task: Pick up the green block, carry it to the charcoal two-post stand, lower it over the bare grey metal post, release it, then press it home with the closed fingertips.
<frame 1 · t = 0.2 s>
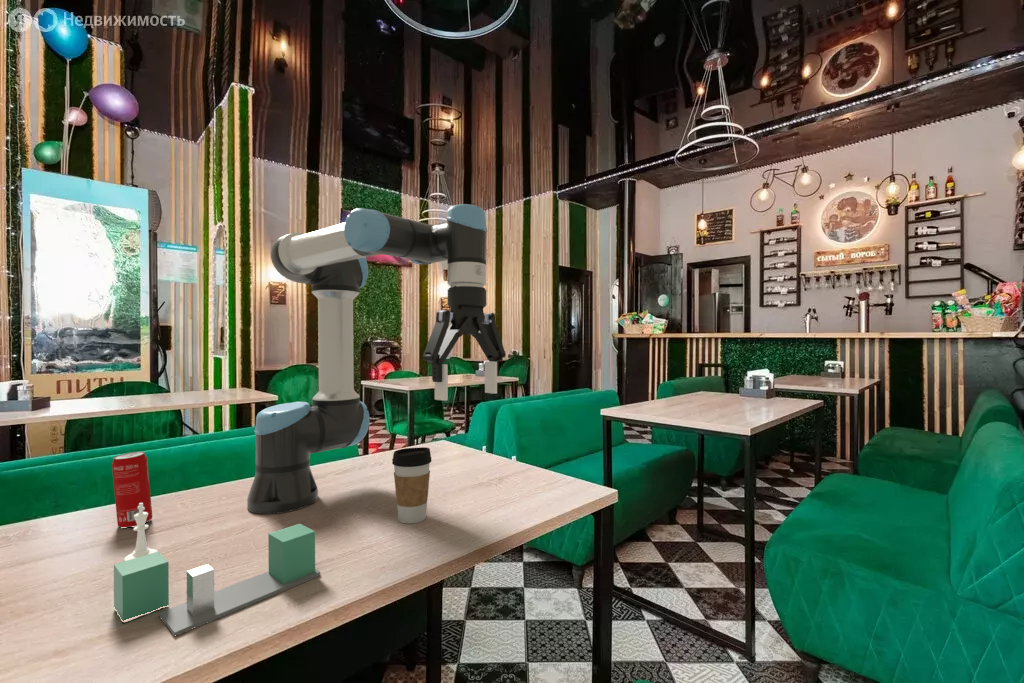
hand: (467, 396, 89), 28 cm above the table, fingers open, 13 cm apart
stand: (246, 594, 70), on the table
chess piece: (141, 560, 81), on the table
beverage can: (132, 525, 97), on the table
coffee cup: (412, 519, 100), on the table
green block: (141, 608, 66), on the table
post: (200, 612, 65), resting on stand
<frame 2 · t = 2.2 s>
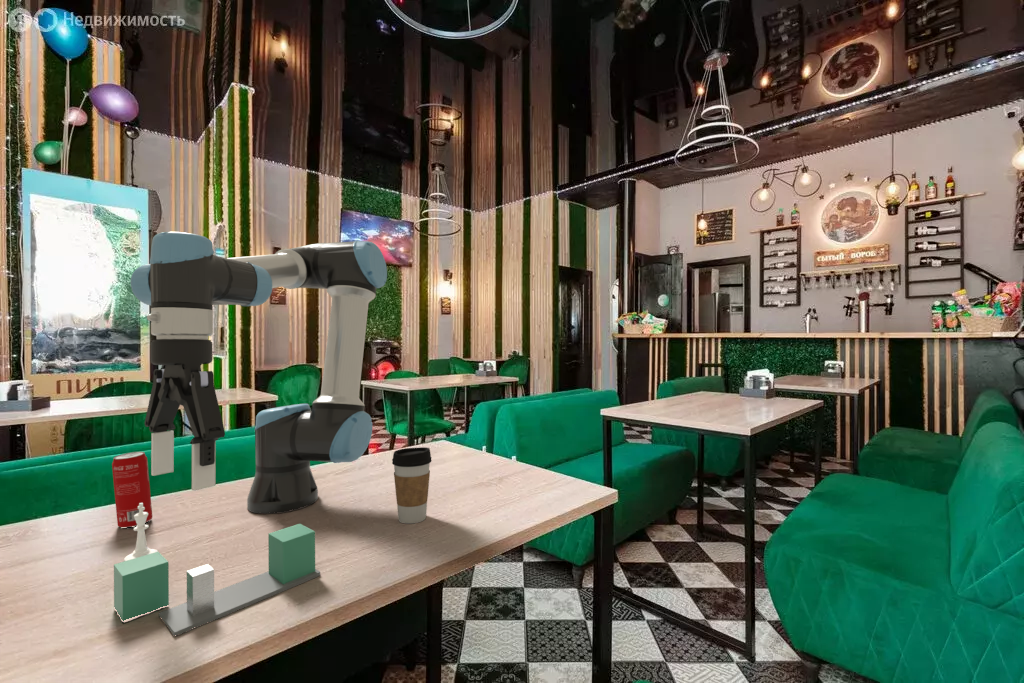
hand: (182, 480, 68), 18 cm above the table, fingers open, 13 cm apart
nothing on the table moved.
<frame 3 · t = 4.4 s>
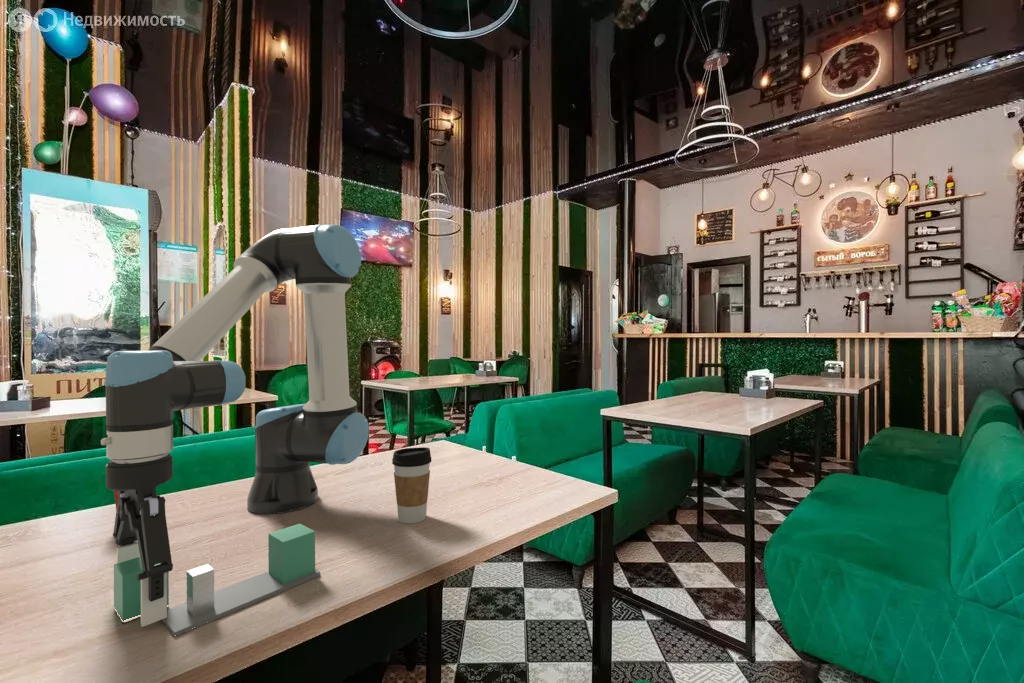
hand: (140, 603, 66), 1 cm above the table, fingers open, 13 cm apart
nothing on the table moved.
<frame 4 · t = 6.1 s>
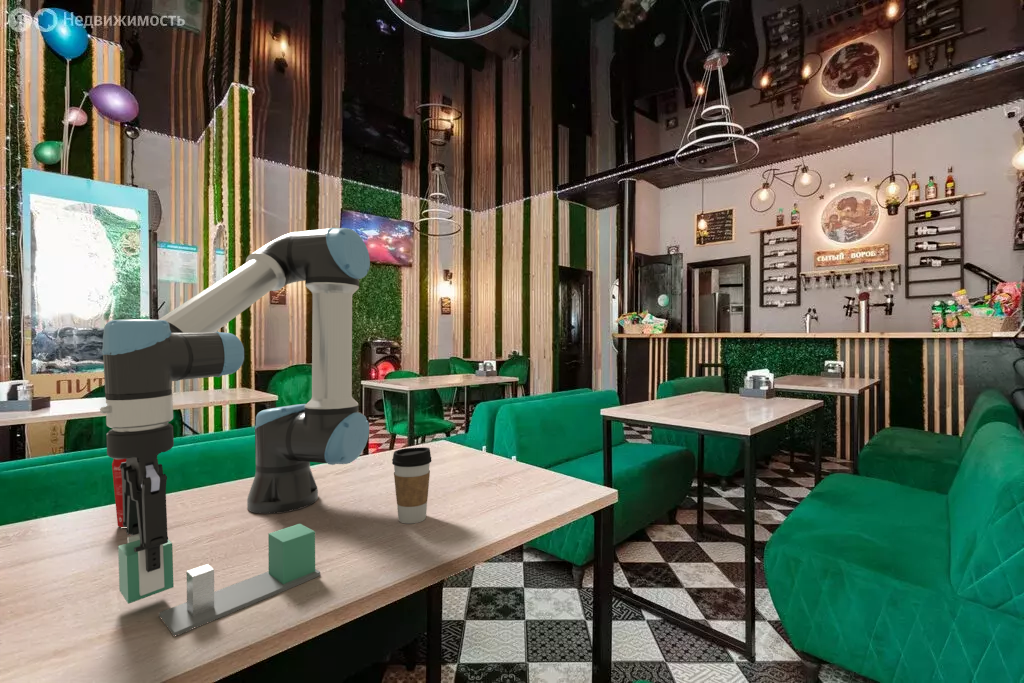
hand: (146, 583, 67), 3 cm above the table, fingers closed on green block, 5 cm apart
green block: (146, 588, 67), point 2 cm above the table, touching gripper
everything else where it was.
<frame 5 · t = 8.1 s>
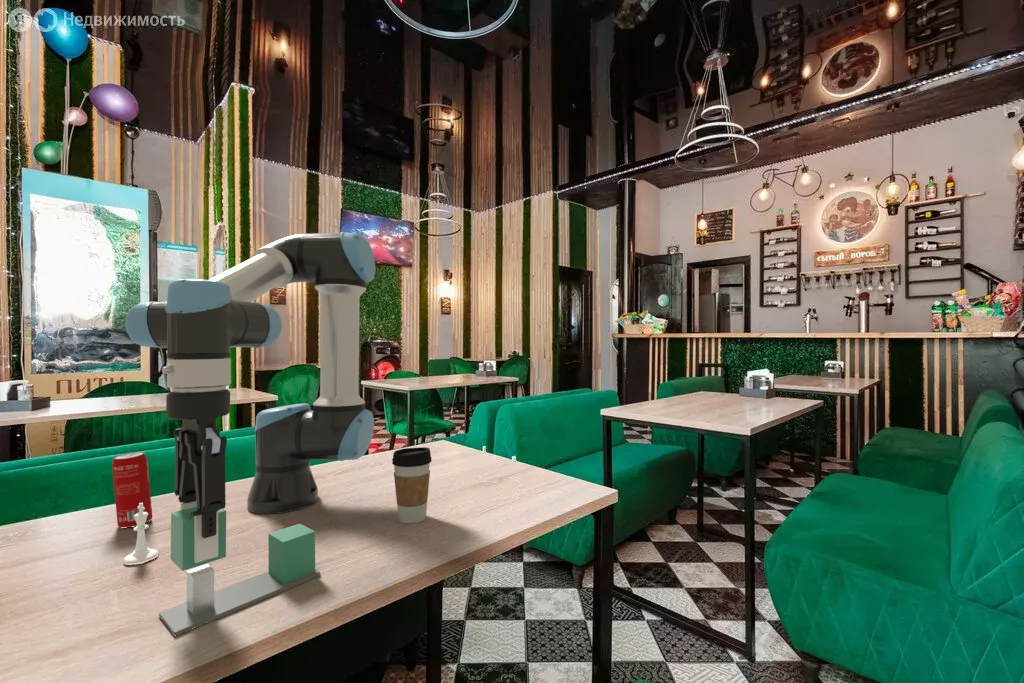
hand: (198, 552, 65), 9 cm above the table, fingers closed on green block, 5 cm apart
green block: (198, 558, 65), point 8 cm above the table, touching gripper
everything else where it was.
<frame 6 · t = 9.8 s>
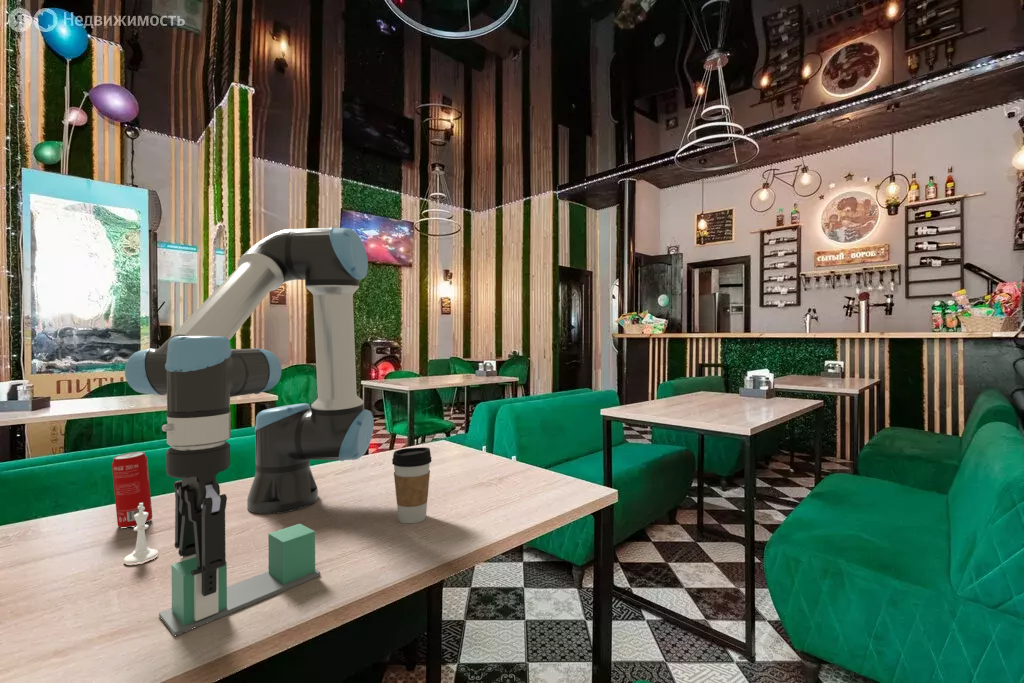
hand: (198, 607, 65), 1 cm above the table, fingers closed on green block, 5 cm apart
green block: (199, 609, 65), point 1 cm above the table, touching gripper, stand
everything else where it was.
when the fingers open (1 cm above the table, at t = 10.4 s): green block stays where it is, resting on stand.
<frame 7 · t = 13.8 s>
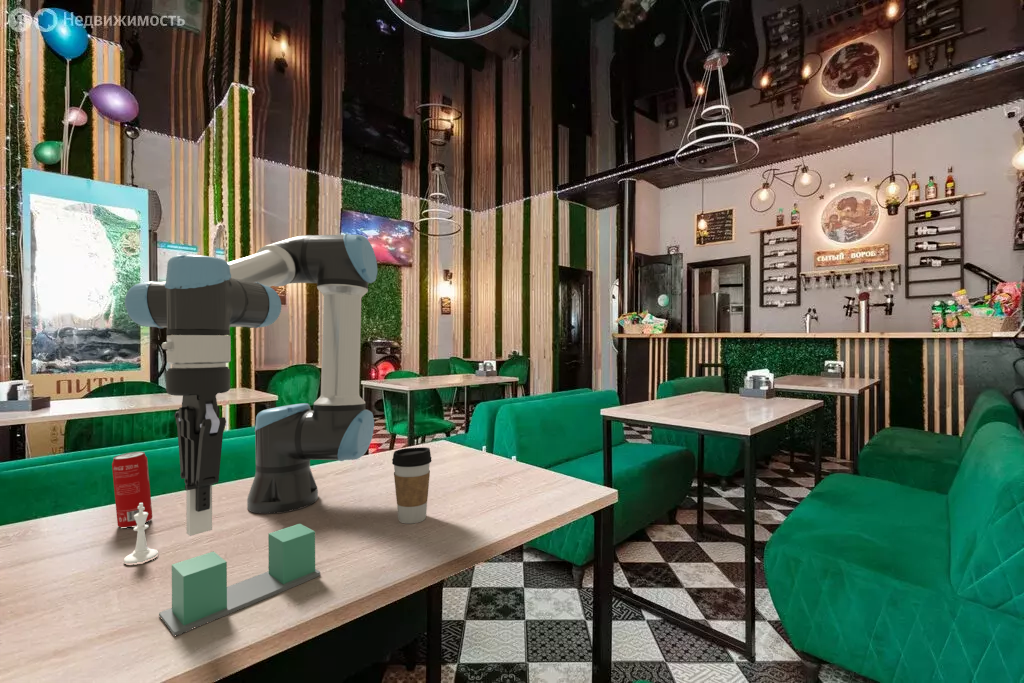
hand: (199, 531, 65), 12 cm above the table, fingers closed
green block: (199, 609, 65), point 1 cm above the table, touching stand
everything else where it was.
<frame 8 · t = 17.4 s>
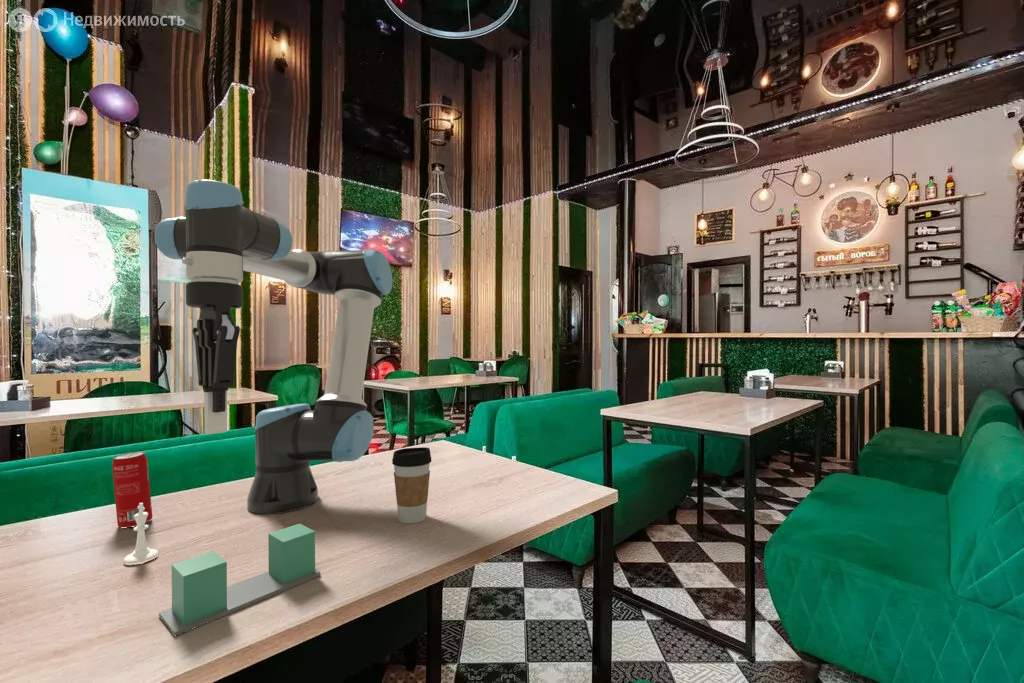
hand: (215, 432, 72), 24 cm above the table, fingers closed
nothing on the table moved.
at the end: green block 0.2 cm from the post (horizontally); green block point 0.6 cm above the table; the gripper is holding nothing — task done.
